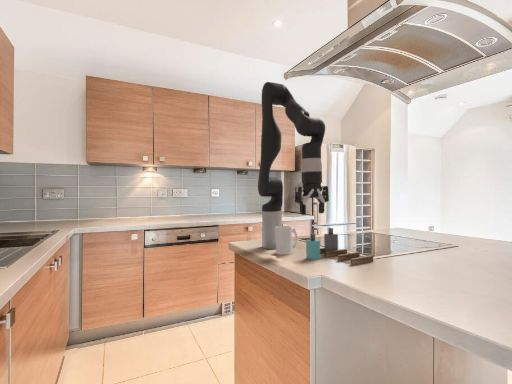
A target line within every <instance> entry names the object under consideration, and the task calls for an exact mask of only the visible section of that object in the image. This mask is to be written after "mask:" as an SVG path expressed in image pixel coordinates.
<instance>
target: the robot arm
mask: <svg viewBox="0 0 512 384" xmlns="http://www.w3.org/2000/svg"><path fill="white" fill-rule="evenodd" d="M273 106H282V107H283V108H284V112H285V115H286V117H287V118H288V119H289V121H290V122H291V123H293V125H294V127H295V131H296V132H297V133H298V134H299V135H300V136H303V137H311V138H310V141H309V142H305V143H303V144H302V146H301V147H302V148H301V159H302V160H301V183H302V186H295V189H294V203H295V204H298V205H299V213H300V215H302V216H305V215H306V214H307V213H306V212H307V206H306V203H307V201H308V200H309V199H312V198H313V199H316V201H317V202H318V214H324V213H325V203H327V202H329V201H330V199H329V197H330V196H329V186H328V185H323V186H322V183H323V163H322V145H323V142H324V137H325V135H326V125H325V121H324V120H323V118H320V117H311V116H310V113H309V111H308V110H307V109H306V108H305V107H304V106H303V105H301V103H299V102H298V101H297V99H295V97H294V96H293V93H291V91H290V90H289V88H288V87H287V86H286V85H285V84H284V83H283V84H282V83H277V82H269V81H266V82H265V83H263V86H262V89H261V119H262V120H261V123H262V124H261V136H260V139H261V141H260V163H259V165H260V166H259V172H258V173H259V174H258V179H257V180H258V182H257V192H258V195H259V196H260V197H263V198H267V197H269V198H270V200H269V201H267V202H266V203H263V204H262V206H261V220H262V221H261V224H262V225H261V244H262V245H261V246H262V249H266V250H276V235H275V227H276V226H283V224H282V223H283V222H282V221H283V219H282V217H283V216H282V213H283V212H282V207H283V201H284V198H283V196H284V195H283V194H284V185H283V184H284V183H283V181H282V179H281V177H279V176H278V177H277V176H270V172H271V168H272V165H273V163H274V161H275V160H276V158H277V157H278V155H279V154H280V152H281V150H282V149H281V148H282V131H281V129H280V127H279V125H278V122H277V121H276V118H275V116H274V111H273V110H274V109H273Z"/></svg>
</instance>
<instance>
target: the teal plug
mask: <svg viewBox="0 0 512 384" xmlns="http://www.w3.org/2000/svg"><path fill="white" fill-rule="evenodd" d="M309 235H310V236H309V237H310V238H309V239H306V240H305V244H306V245H305V246H306V253H305V254H306V256H305V257H306V259H307V260H311V261H314V260H321V256H320V248H321V240H319V239H316V234H315V233H310V234H309Z"/></svg>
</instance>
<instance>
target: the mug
mask: <svg viewBox="0 0 512 384" xmlns="http://www.w3.org/2000/svg"><path fill="white" fill-rule="evenodd" d="M275 235H276V249H275V253H276V254H277V255H278V256H288V255H289V256H290V255H292V254H293V253H292V251H293V249H294V248H296V247H297V246H296V245H297V243H298V234H297V230H296V228H293V227H292V226H291V225H282V226H276V227H275ZM293 235H294V241H293V240H292V239H293V238H292V237H293Z"/></svg>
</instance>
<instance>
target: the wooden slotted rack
mask: <svg viewBox="0 0 512 384" xmlns="http://www.w3.org/2000/svg"><path fill="white" fill-rule="evenodd" d="M320 257H324V258H327V259H330V260H333V261H337V262H339V263H343V264H345V265H349V266H358V265H363V264H367V263H368V264H369V263H372V262H374V255H373V254H369V255H364V256H360V252H359V251H354V252H349V253H348V248H343V249H338V250H336V251H329V252H326V254H325V247H320Z"/></svg>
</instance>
